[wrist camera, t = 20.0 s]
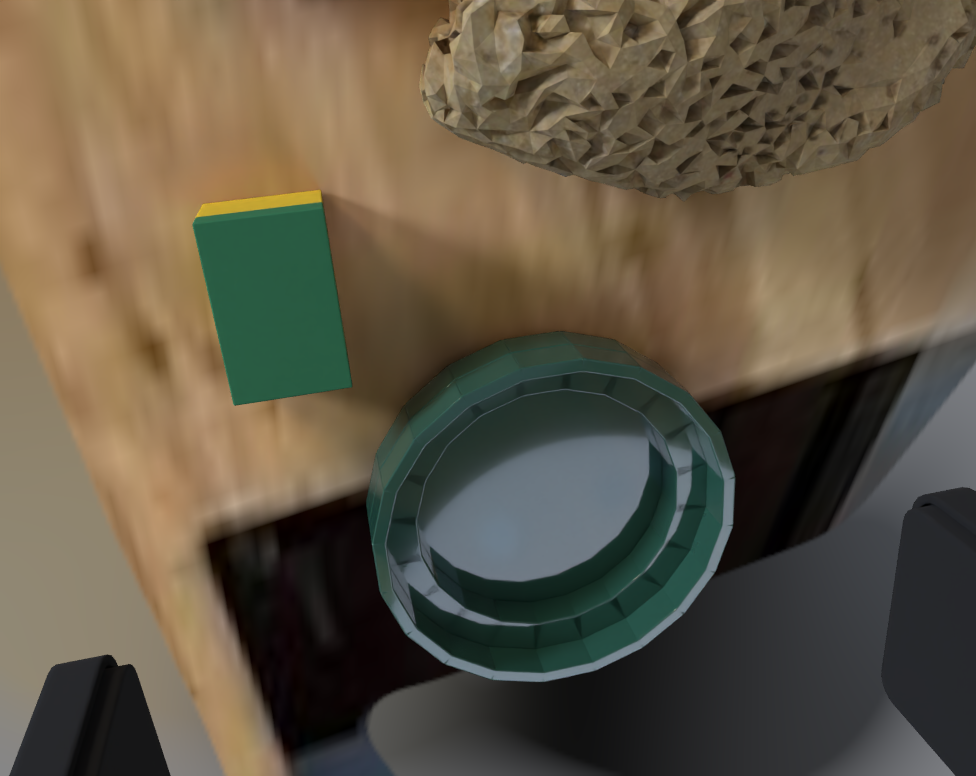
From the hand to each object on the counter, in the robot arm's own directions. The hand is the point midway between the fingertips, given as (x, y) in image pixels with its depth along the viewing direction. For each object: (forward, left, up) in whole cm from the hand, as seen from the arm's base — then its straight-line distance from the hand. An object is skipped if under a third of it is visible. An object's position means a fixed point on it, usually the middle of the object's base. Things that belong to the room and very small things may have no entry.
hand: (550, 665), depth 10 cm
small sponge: (+2, -4, -26) cm, 27 cm away
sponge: (-6, +13, -26) cm, 30 cm away
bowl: (+14, +6, -26) cm, 30 cm away
